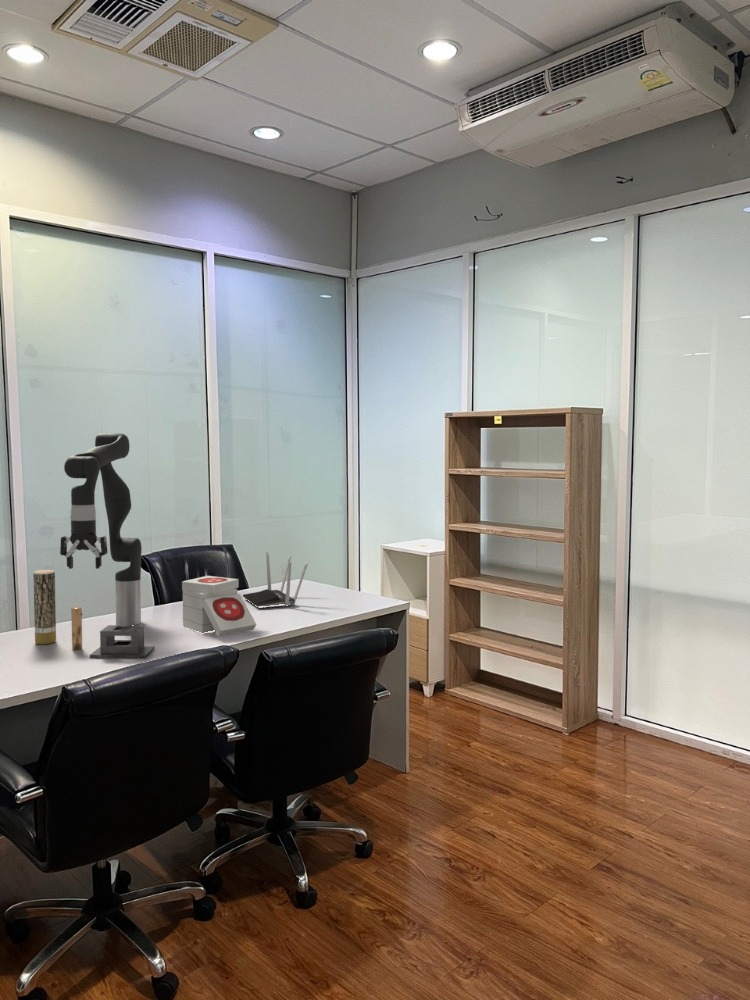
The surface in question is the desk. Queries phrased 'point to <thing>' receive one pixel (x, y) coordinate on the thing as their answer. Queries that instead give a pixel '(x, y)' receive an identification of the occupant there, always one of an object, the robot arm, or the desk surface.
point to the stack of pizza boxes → (215, 606)
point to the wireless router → (275, 596)
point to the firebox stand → (122, 643)
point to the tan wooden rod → (76, 628)
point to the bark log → (44, 606)
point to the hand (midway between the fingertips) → (84, 568)
